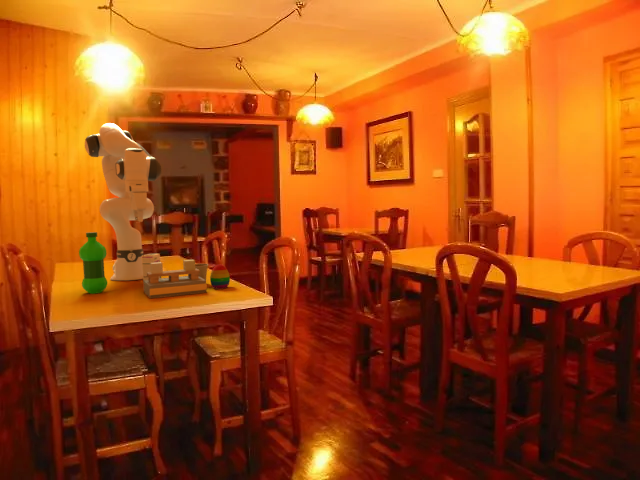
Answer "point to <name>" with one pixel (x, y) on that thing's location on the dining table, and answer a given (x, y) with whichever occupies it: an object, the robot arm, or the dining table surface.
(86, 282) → the plastic bottle
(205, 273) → the flower pot
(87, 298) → the dining table surface
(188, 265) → the crate
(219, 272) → the decorative egg
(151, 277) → the pallet
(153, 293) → the dock
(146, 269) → the syrup box
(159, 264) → the block
